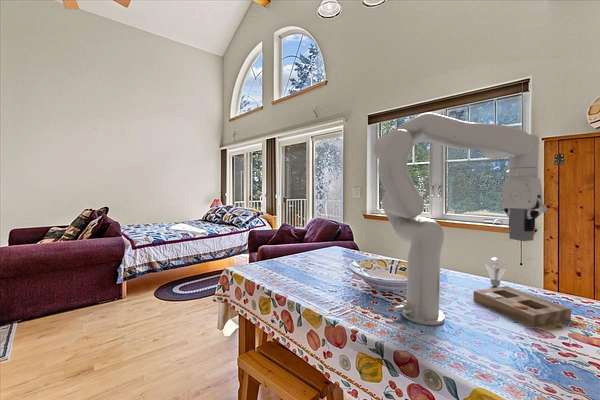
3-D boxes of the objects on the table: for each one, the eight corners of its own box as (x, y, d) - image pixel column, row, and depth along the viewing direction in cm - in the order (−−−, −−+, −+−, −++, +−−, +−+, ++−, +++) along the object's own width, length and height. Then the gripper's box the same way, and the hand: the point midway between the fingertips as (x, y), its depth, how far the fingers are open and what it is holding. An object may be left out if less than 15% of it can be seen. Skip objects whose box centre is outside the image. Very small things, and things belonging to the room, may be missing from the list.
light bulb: (509, 290, 110) (510, 260, 109) (489, 289, 111) (490, 259, 111) (500, 284, 117) (501, 256, 116) (482, 283, 118) (482, 255, 117)
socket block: (532, 327, 82) (533, 314, 81) (473, 300, 101) (473, 289, 101) (570, 319, 86) (571, 307, 86) (507, 295, 105) (507, 285, 105)
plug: (522, 241, 88) (524, 194, 88) (509, 238, 93) (510, 193, 92) (533, 240, 90) (534, 193, 89) (519, 237, 94) (520, 193, 93)
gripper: (489, 174, 97) (488, 226, 98) (542, 172, 81) (540, 234, 82) (506, 174, 99) (505, 225, 100) (561, 172, 83) (559, 233, 84)
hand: (521, 229), depth 91 cm, fingers closed on plug, 4 cm apart
